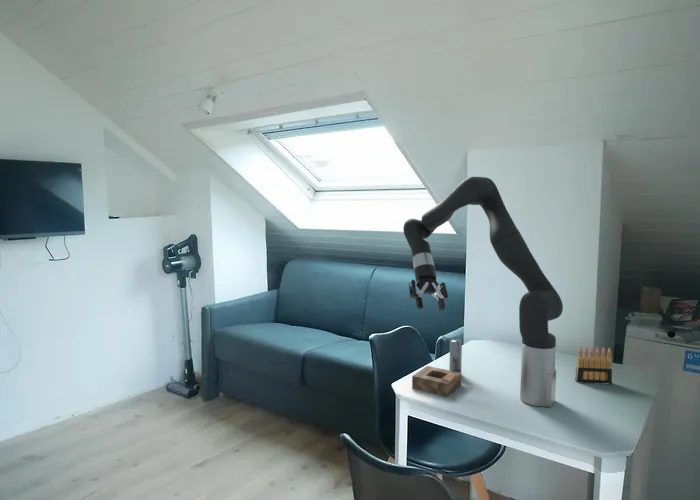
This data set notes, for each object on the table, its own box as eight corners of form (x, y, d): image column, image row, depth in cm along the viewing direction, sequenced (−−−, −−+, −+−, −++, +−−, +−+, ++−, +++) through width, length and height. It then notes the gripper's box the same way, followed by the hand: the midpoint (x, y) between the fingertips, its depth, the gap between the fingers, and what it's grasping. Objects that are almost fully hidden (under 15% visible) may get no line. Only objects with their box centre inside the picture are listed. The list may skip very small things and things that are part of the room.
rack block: (461, 385, 151) (461, 372, 150) (447, 396, 142) (447, 383, 141) (427, 377, 157) (427, 365, 157) (412, 387, 148) (412, 375, 148)
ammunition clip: (576, 382, 152) (578, 347, 151) (575, 380, 154) (576, 345, 153) (611, 384, 151) (613, 348, 149) (609, 382, 152) (611, 346, 151)
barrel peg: (463, 374, 160) (463, 340, 159) (458, 377, 157) (459, 343, 155) (452, 371, 162) (452, 338, 161) (447, 375, 159) (448, 341, 158)
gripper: (411, 261, 164) (419, 304, 156) (446, 265, 169) (454, 306, 162) (402, 270, 170) (408, 312, 163) (435, 273, 175) (443, 314, 168)
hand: (431, 309), depth 162 cm, fingers open, 8 cm apart
